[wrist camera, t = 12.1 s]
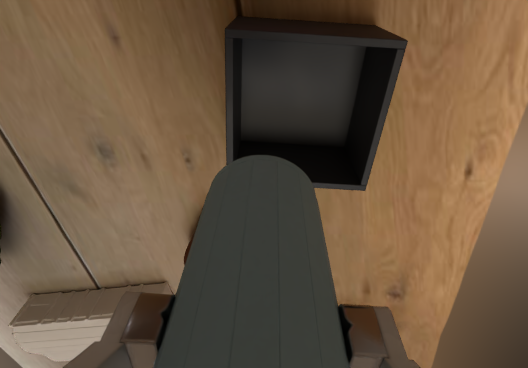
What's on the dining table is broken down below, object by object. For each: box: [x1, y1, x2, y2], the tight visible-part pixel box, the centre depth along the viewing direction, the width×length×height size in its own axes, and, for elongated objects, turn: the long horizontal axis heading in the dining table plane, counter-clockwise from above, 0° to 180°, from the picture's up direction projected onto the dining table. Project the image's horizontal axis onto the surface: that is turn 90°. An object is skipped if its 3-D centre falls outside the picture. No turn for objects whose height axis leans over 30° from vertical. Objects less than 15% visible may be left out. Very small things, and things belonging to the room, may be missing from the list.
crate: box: [225, 16, 408, 191], centre depth 30 cm, size 13×13×9 cm
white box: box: [8, 282, 173, 362], centre depth 53 cm, size 25×15×7 cm, turn 100°
